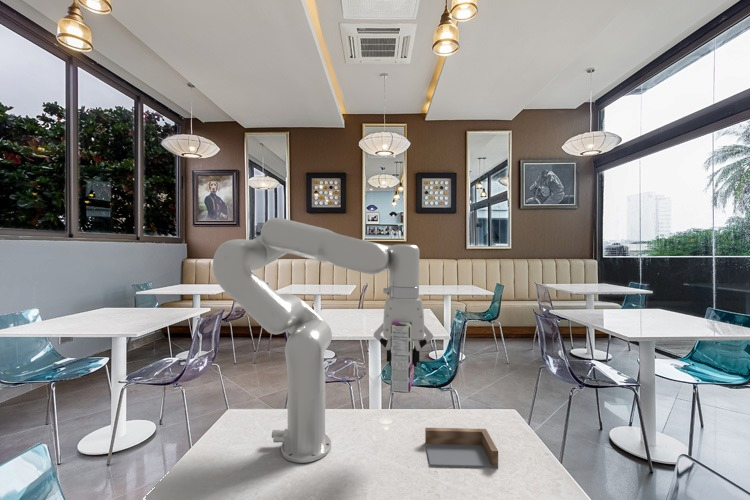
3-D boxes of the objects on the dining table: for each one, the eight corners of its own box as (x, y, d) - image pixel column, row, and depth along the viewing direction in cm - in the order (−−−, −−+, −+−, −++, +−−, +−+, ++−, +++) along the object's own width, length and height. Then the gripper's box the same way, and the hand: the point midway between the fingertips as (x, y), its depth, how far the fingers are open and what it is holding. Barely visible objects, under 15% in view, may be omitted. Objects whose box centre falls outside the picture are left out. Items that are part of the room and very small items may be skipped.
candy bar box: (395, 375, 92) (396, 314, 92) (414, 376, 91) (415, 315, 91) (389, 392, 81) (390, 323, 81) (410, 394, 80) (411, 324, 80)
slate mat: (430, 466, 81) (430, 464, 81) (425, 442, 91) (425, 440, 91) (498, 468, 80) (498, 466, 80) (485, 443, 90) (485, 442, 90)
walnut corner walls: (430, 466, 81) (430, 449, 81) (425, 442, 91) (425, 427, 91) (498, 468, 80) (498, 451, 80) (485, 443, 90) (485, 428, 90)
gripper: (369, 294, 83) (368, 369, 83) (440, 296, 82) (439, 371, 82) (370, 290, 90) (369, 359, 90) (435, 292, 90) (434, 361, 90)
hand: (402, 364), depth 86 cm, fingers closed on candy bar box, 5 cm apart
